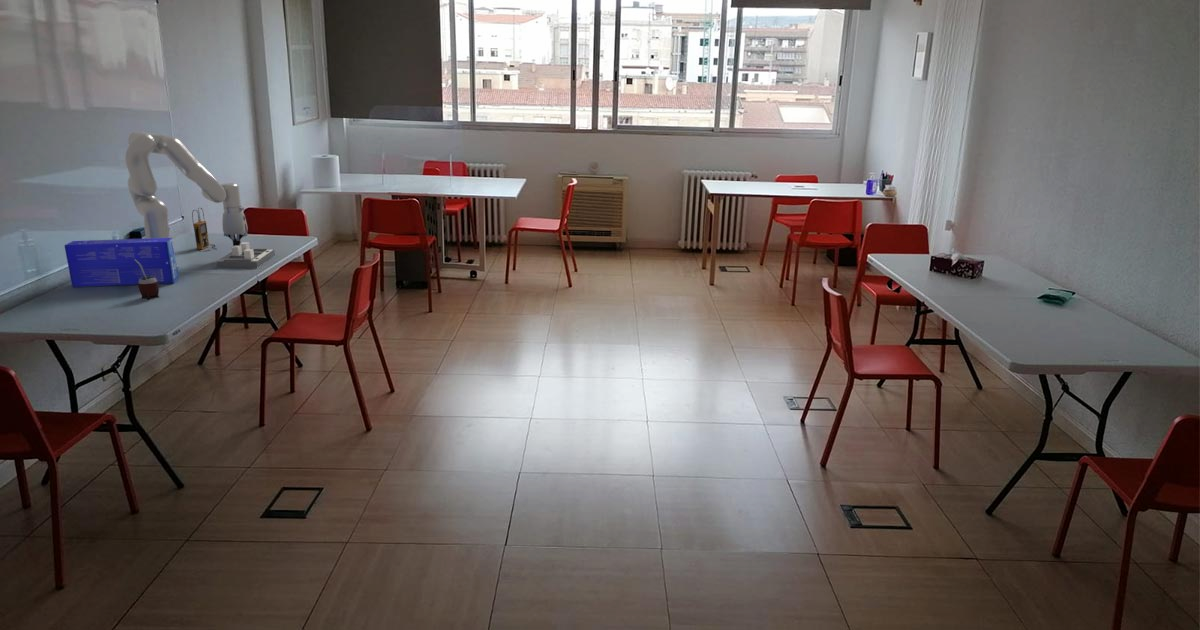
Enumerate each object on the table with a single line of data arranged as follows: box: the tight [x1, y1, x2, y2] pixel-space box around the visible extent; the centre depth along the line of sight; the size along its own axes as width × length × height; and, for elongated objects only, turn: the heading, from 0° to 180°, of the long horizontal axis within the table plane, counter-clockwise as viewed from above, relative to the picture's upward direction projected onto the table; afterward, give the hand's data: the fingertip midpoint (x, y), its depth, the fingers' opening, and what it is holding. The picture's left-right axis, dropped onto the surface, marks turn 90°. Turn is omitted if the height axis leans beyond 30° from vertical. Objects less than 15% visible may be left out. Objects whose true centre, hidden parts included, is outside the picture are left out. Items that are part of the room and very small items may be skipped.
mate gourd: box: [135, 259, 160, 301], centre depth 321 cm, size 8×8×15 cm
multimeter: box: [191, 207, 218, 252], centre depth 401 cm, size 15×10×20 cm
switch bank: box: [215, 248, 276, 269], centre depth 380 cm, size 24×18×4 cm
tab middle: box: [230, 245, 242, 255], centre depth 379 cm, size 4×3×4 cm
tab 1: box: [240, 241, 251, 252], centre depth 385 cm, size 4×3×4 cm
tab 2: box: [244, 248, 254, 259], centre depth 372 cm, size 4×3×4 cm
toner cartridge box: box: [64, 237, 179, 288], centre depth 339 cm, size 39×8×18 cm, turn 102°
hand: (237, 248), depth 385 cm, fingers closed
